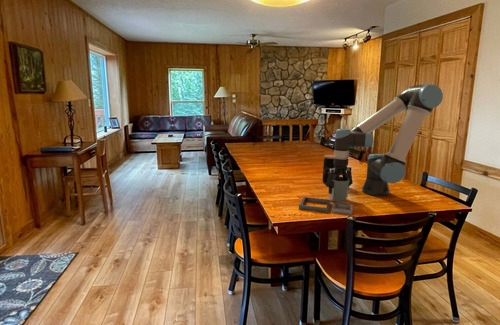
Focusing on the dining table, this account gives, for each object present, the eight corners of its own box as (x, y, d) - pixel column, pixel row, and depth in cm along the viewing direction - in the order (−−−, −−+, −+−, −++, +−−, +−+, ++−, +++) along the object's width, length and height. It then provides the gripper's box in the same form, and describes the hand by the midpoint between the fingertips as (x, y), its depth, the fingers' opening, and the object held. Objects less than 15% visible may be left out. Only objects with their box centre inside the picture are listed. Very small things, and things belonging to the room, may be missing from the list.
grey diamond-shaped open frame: (352, 208, 159) (352, 204, 158) (351, 214, 150) (352, 210, 149) (333, 206, 162) (333, 202, 161) (331, 212, 153) (332, 208, 152)
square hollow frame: (330, 203, 166) (331, 199, 165) (328, 212, 152) (328, 208, 152) (303, 200, 170) (303, 196, 170) (298, 209, 157) (299, 205, 157)
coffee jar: (321, 184, 202) (322, 156, 199) (323, 180, 212) (324, 154, 209) (338, 185, 199) (340, 158, 195) (339, 181, 209) (341, 155, 205)
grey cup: (344, 196, 177) (345, 176, 174) (350, 202, 167) (352, 181, 165) (326, 196, 177) (327, 176, 174) (331, 202, 167) (333, 181, 164)
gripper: (351, 155, 175) (348, 193, 180) (320, 158, 166) (317, 198, 170) (361, 157, 169) (358, 197, 173) (329, 160, 159) (326, 202, 164)
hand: (338, 197), depth 172 cm, fingers closed on grey cup, 9 cm apart
